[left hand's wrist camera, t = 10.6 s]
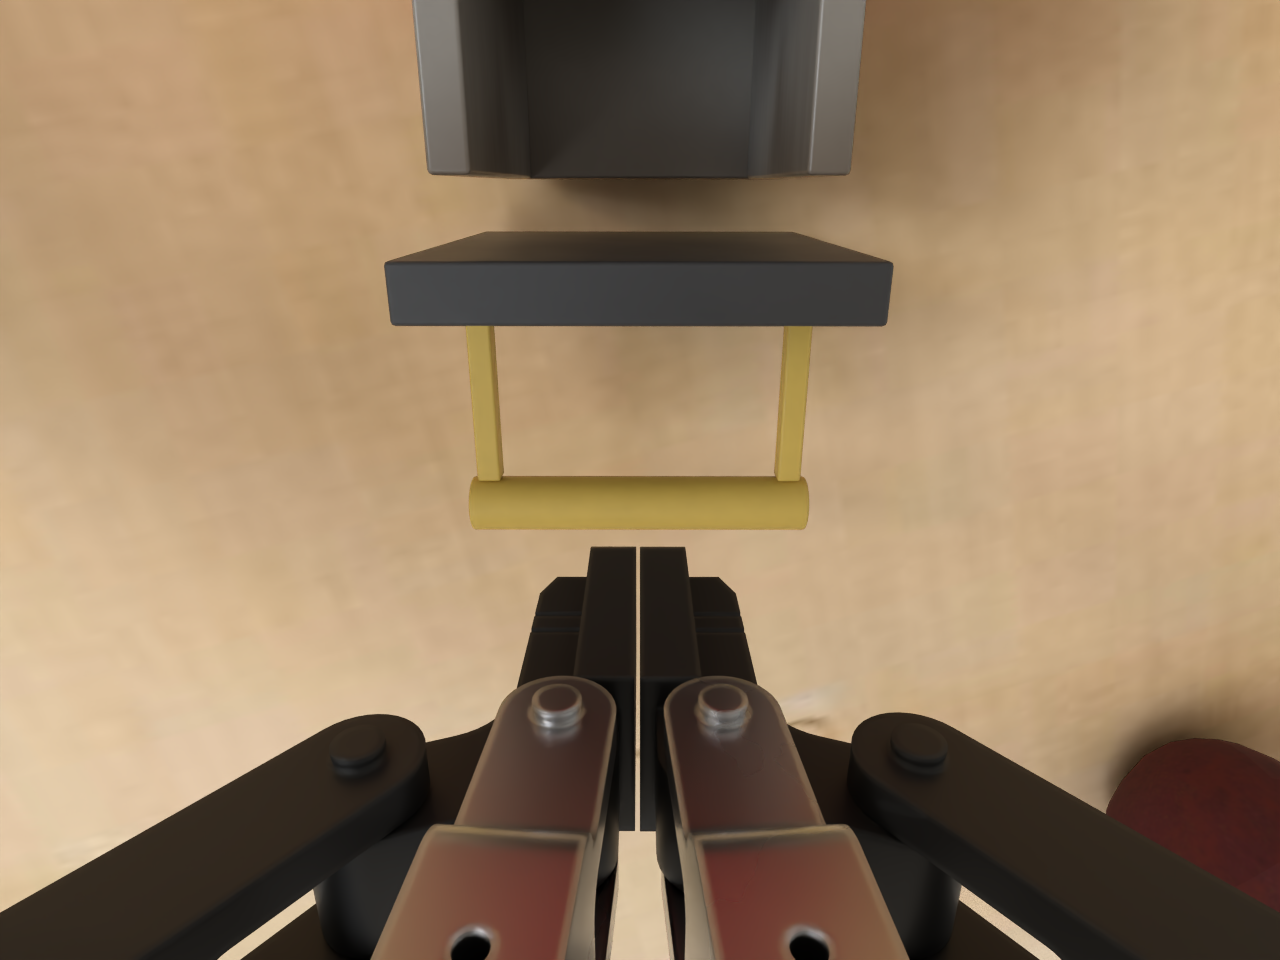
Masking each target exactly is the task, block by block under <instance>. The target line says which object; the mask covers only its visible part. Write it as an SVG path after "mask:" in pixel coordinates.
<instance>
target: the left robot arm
mask: <svg viewBox="0 0 1280 960" xmlns="http://www.w3.org/2000/svg"><path fill="white" fill-rule="evenodd" d="M635 757H636V547H591V550H590V557H589V565H588V572H587V577H557V578H556V579H555V580H554V581H553V582H552V583H551V584H550V585H548V586H547V587H546V588H545V589H544V590H543V591H542V592H541V593H540V596H539V600H538V604H537V608H536V612H535V616H534V620H533V625H532V632H531V633H530V637H529V641H528V645H527V649H526V653H525V657H524V661H523V665H522V669H521V673H520V677H519V681H518V686H517V689H515V690H514V691H513V692H511V693H510V694H509V695H508V696H507V697H506V698H505V699H504V701H503V702H502V704H501V706H500V708H499V710H498V713H497V715H496V718H495V719H494V720H493V721H491V722H490V723H488V724H486V725H484V726H482V727H480V728H478V729H476V730H473V731H470V732H468V733H464V734H461V735H457V736H453V737H449V738H444V739H440V740H435V741H431V742H425V738H424V735H423V732H422V731H421V730H420V728H419V727H418V726H417V725H415V724H414V723H413V722H411V721H409V720H407V719H405V718H402V717H399V716H394V715H388V714H373V715H364V716H358V717H354V718H350V719H347V720H344V721H341V722H339V723H336V724H334V725H332V726H330V727H328V728H326V729H324V730H322V731H320V732H318V733H317V734H315V735H313V736H311V737H310V738H308V739H306V740H304V741H303V742H301V743H299V744H297V745H295V746H294V747H292V748H290V749H288V750H287V751H285V752H283V753H281V754H280V755H278V756H276V757H274V758H273V759H271V760H269V761H267V762H265V763H264V764H262V765H260V766H258V767H257V768H255V769H253V770H251V771H250V772H248V773H246V774H244V775H243V776H241V777H239V778H237V779H235V780H234V781H232V782H230V783H228V784H227V785H225V786H223V787H221V788H220V789H218V790H216V791H214V792H213V793H211V794H209V795H207V796H205V797H204V798H202V799H200V800H198V801H197V802H195V803H193V804H191V805H190V806H188V807H186V808H184V809H182V810H181V811H179V812H177V813H175V814H174V815H172V816H170V817H168V818H167V819H165V820H163V821H161V822H160V823H158V824H156V825H154V826H152V827H151V828H149V829H147V830H145V831H144V832H142V833H140V834H138V835H137V836H135V837H133V838H131V839H130V840H128V841H126V842H124V843H122V844H121V845H119V846H117V847H115V848H114V849H112V850H110V851H108V852H107V853H105V854H103V855H101V856H100V857H98V858H96V859H94V860H92V861H91V862H89V863H87V864H85V865H84V866H82V867H80V868H78V869H77V870H75V871H73V872H71V873H69V874H68V875H66V876H64V877H62V878H61V879H59V880H57V881H55V882H54V883H52V884H50V885H48V886H47V887H45V888H43V889H41V890H39V891H38V892H36V893H34V894H32V895H31V896H29V897H27V898H25V899H24V900H22V901H20V902H18V903H17V904H15V905H13V906H11V907H9V908H8V909H6V910H4V911H2V912H1V913H0V960H217V959H218V958H219V957H220V956H222V955H223V954H224V953H225V952H227V951H228V950H229V949H230V948H232V947H233V946H235V945H236V944H237V943H239V942H240V941H241V940H243V939H244V938H246V937H247V936H248V935H250V934H251V933H253V932H254V931H255V930H257V929H258V928H259V927H261V926H262V925H264V924H265V923H266V922H268V921H269V920H270V919H272V918H273V917H275V916H276V915H277V914H279V913H280V912H282V911H283V910H284V909H286V908H287V907H288V906H290V905H291V904H293V903H294V902H295V901H297V900H298V899H299V898H301V897H302V896H304V895H305V894H306V893H308V892H309V891H311V890H312V889H313V890H314V895H315V900H316V904H315V905H313V906H312V907H311V908H309V909H308V910H307V911H305V912H304V913H303V914H301V915H300V916H299V917H297V918H296V919H295V920H293V921H292V922H291V923H289V924H288V925H286V926H285V927H284V928H282V929H281V930H280V931H278V932H277V933H276V934H274V935H273V936H272V937H270V938H269V939H268V940H266V941H265V942H264V943H262V944H261V945H260V946H258V947H257V948H255V949H254V950H253V951H251V952H250V953H249V954H247V955H246V956H245V957H243V958H242V959H241V960H610V956H611V948H612V939H613V931H614V922H615V914H616V905H617V897H618V842H619V831H635ZM640 831H656V854H657V861H658V864H659V867H660V869H661V871H662V897H663V905H664V914H665V922H666V931H667V939H668V948H669V956H670V960H1039V959H1038V958H1037V957H1035V956H1034V955H1033V954H1031V953H1030V952H1029V951H1027V950H1026V949H1024V948H1023V947H1022V946H1020V945H1019V944H1018V943H1016V942H1015V941H1014V940H1012V939H1011V938H1010V937H1008V936H1007V935H1006V934H1004V933H1003V932H1002V931H1000V930H999V929H998V928H996V927H995V926H993V925H992V924H991V923H989V922H988V921H987V920H985V919H984V918H983V917H981V916H980V915H979V914H977V913H976V912H975V911H973V910H972V909H971V908H969V907H968V906H967V905H965V904H964V903H962V902H961V901H960V900H959V896H960V891H961V886H962V885H963V886H964V887H965V888H967V889H968V890H969V891H971V892H972V893H974V894H975V895H976V896H978V897H979V898H981V899H982V900H983V901H985V902H986V903H987V904H989V905H990V906H992V907H993V908H994V909H996V910H997V911H998V912H1000V913H1001V914H1003V915H1004V916H1005V917H1007V918H1008V919H1009V920H1011V921H1012V922H1014V923H1015V924H1016V925H1018V926H1019V927H1021V928H1022V929H1023V930H1025V931H1026V932H1027V933H1029V934H1030V935H1032V936H1033V937H1034V938H1036V939H1037V940H1038V941H1040V942H1041V943H1043V944H1044V945H1045V946H1047V947H1048V948H1049V949H1051V950H1052V951H1053V952H1054V953H1055V954H1056V955H1057V956H1058V957H1059V958H1060V959H1061V960H1280V913H1279V912H1278V911H1276V910H1274V909H1272V908H1271V907H1269V906H1267V905H1265V904H1263V903H1262V902H1260V901H1258V900H1256V899H1255V898H1253V897H1251V896H1249V895H1248V894H1246V893H1244V892H1242V891H1240V890H1239V889H1237V888H1235V887H1233V886H1232V885H1230V884H1228V883H1226V882H1225V881H1223V880H1221V879H1219V878H1218V877H1216V876H1214V875H1212V874H1210V873H1209V872H1207V871H1205V870H1203V869H1202V868H1200V867H1198V866H1196V865H1195V864H1193V863H1191V862H1189V861H1188V860H1186V859H1184V858H1182V857H1180V856H1179V855H1177V854H1175V853H1173V852H1172V851H1170V850H1168V849H1166V848H1165V847H1163V846H1161V845H1159V844H1158V843H1156V842H1154V841H1152V840H1150V839H1149V838H1147V837H1145V836H1143V835H1142V834H1140V833H1138V832H1136V831H1135V830H1133V829H1131V828H1129V827H1127V826H1126V825H1124V824H1122V823H1120V822H1119V821H1117V820H1115V819H1113V818H1112V817H1110V816H1108V815H1106V814H1105V813H1103V812H1101V811H1099V810H1097V809H1096V808H1094V807H1092V806H1090V805H1089V804H1087V803H1085V802H1083V801H1082V800H1080V799H1078V798H1076V797H1075V796H1073V795H1071V794H1069V793H1067V792H1066V791H1064V790H1062V789H1060V788H1059V787H1057V786H1055V785H1053V784H1052V783H1050V782H1048V781H1046V780H1045V779H1043V778H1041V777H1039V776H1037V775H1036V774H1034V773H1032V772H1030V771H1029V770H1027V769H1025V768H1023V767H1022V766H1020V765H1018V764H1016V763H1014V762H1013V761H1011V760H1009V759H1007V758H1006V757H1004V756H1002V755H1000V754H999V753H997V752H995V751H993V750H992V749H990V748H988V747H986V746H984V745H983V744H981V743H979V742H977V741H976V740H974V739H972V738H970V737H969V736H967V735H965V734H963V733H962V732H960V731H958V730H956V729H954V728H953V727H951V726H949V725H947V724H945V723H943V722H940V721H938V720H935V719H932V718H929V717H925V716H922V715H917V714H911V713H900V712H899V713H885V714H879V715H876V716H873V717H870V718H868V719H867V720H865V721H863V722H862V723H861V724H860V725H858V727H857V728H856V730H855V731H854V733H853V736H852V742H851V743H847V742H842V741H838V740H833V739H829V738H825V737H820V736H816V735H813V734H809V733H806V732H803V731H801V730H798V729H796V728H794V727H792V726H790V725H788V724H787V723H786V720H785V718H784V715H783V713H782V710H781V708H780V706H779V704H778V702H777V701H776V699H775V698H774V697H773V696H772V695H771V694H770V693H769V692H767V691H766V690H765V689H763V688H762V687H760V686H758V685H757V682H756V677H755V673H754V669H753V665H752V660H751V656H750V652H749V648H748V643H747V639H746V635H745V633H744V626H743V622H742V618H741V617H740V609H739V605H738V601H737V597H736V593H735V592H734V591H733V590H732V589H730V588H729V587H728V586H727V585H726V584H725V583H724V582H723V581H722V580H721V579H720V578H719V577H689V574H688V566H687V558H686V550H685V547H640Z"/></svg>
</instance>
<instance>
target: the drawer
mask: <svg viewBox="0 0 1280 960" xmlns="http://www.w3.org/2000/svg"><path fill="white" fill-rule="evenodd" d="M412 8H413V19H414V30H415V41H416V52H417V63H418V74H419V84H420V95H421V106H422V117H423V128H424V139H425V150H426V161H427V170H428V172H429V173H430V174H432V175H445V176H464V177H483V178H502V179H782V178H801V177H821V176H841V175H847V174H849V172H850V170H851V160H852V149H853V139H854V128H855V117H856V106H857V95H858V84H859V74H860V63H861V52H862V41H863V30H864V19H865V8H866V0H412ZM384 268H385V277H386V286H387V295H388V303H389V312H390V321H391V323H392V325H395V326H466V337H467V349H468V361H469V374H470V386H471V399H472V411H473V424H474V436H475V449H476V461H477V473H478V476H476V477H474V478H473V480H472V482H471V486H470V492H469V515H470V521H471V524H472V527H473V528H474V529H619V530H802V529H804V528H805V527H806V524H807V521H808V515H809V493H808V486H807V482H806V480H805V478H804V477H802V476H800V474H801V461H802V449H803V437H804V424H805V412H806V400H807V387H808V375H809V363H810V350H811V338H812V326H884V325H886V323H887V318H888V310H889V301H890V292H891V284H892V275H893V263H892V262H889V261H886V260H883V259H880V258H876V257H873V256H870V255H866V254H863V253H860V252H857V251H853V250H850V249H847V248H843V247H840V246H837V245H833V244H830V243H827V242H824V241H820V240H817V239H814V238H810V237H807V236H804V235H801V234H797V233H794V232H484V233H480V234H477V235H474V236H470V237H467V238H464V239H460V240H457V241H454V242H450V243H447V244H444V245H440V246H437V247H434V248H430V249H427V250H424V251H420V252H417V253H413V254H410V255H407V256H403V257H400V258H397V259H393V260H390V261H387V262H385V265H384ZM494 326H784V337H783V351H782V366H781V381H780V396H779V410H778V425H777V440H776V454H775V469H774V473H775V476H502V475H503V473H504V468H503V453H502V438H501V424H500V409H499V394H498V379H497V364H496V349H495V334H494Z"/></svg>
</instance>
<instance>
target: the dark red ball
mask: <svg viewBox="0 0 1280 960" xmlns="http://www.w3.org/2000/svg"><path fill="white" fill-rule="evenodd" d="M1106 815H1108V816H1110V817H1112V818H1113V819H1115V820H1117V821H1119V822H1120V823H1122V824H1124V825H1126V826H1127V827H1129V828H1131V829H1133V830H1135V831H1136V832H1138V833H1140V834H1142V835H1143V836H1145V837H1147V838H1149V839H1150V840H1152V841H1154V842H1156V843H1158V844H1159V845H1161V846H1163V847H1165V848H1166V849H1168V850H1170V851H1172V852H1173V853H1175V854H1177V855H1179V856H1180V857H1182V858H1184V859H1186V860H1188V861H1189V862H1191V863H1193V864H1195V865H1196V866H1198V867H1200V868H1202V869H1203V870H1205V871H1207V872H1209V873H1210V874H1212V875H1214V876H1216V877H1218V878H1219V879H1221V880H1223V881H1225V882H1226V883H1228V884H1230V885H1232V886H1233V887H1235V888H1237V889H1239V890H1240V891H1242V892H1244V893H1246V894H1248V895H1249V896H1251V897H1253V898H1255V899H1256V900H1258V901H1260V902H1262V903H1263V904H1265V905H1267V906H1269V907H1271V908H1272V909H1274V910H1276V911H1278V912H1279V913H1280V762H1279V761H1277V760H1275V759H1274V758H1271V757H1269V756H1267V755H1264V754H1262V753H1259V752H1257V751H1255V750H1252V749H1250V748H1247V747H1245V746H1242V745H1240V744H1237V743H1232V742H1227V741H1223V740H1216V739H1199V738H1193V739H1187V740H1181V741H1174V742H1170V743H1168V744H1166V745H1164V746H1162V747H1160V748H1158V749H1156V750H1154V751H1153V752H1151V753H1149V754H1147V755H1145V756H1144V757H1143V758H1142V759H1141V760H1140V761H1139V762H1138V764H1137V765H1136V766H1135V767H1134V768H1133V769H1132V770H1131V771H1130V772H1129V773H1128V775H1127V776H1126V777H1125V778H1124V779H1123V780H1122V781H1121V783H1120V785H1119V786H1118V788H1117V790H1116V792H1115V793H1114V795H1113V797H1112V798H1111V800H1110V802H1109V805H1108V807H1107V810H1106Z"/></svg>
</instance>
